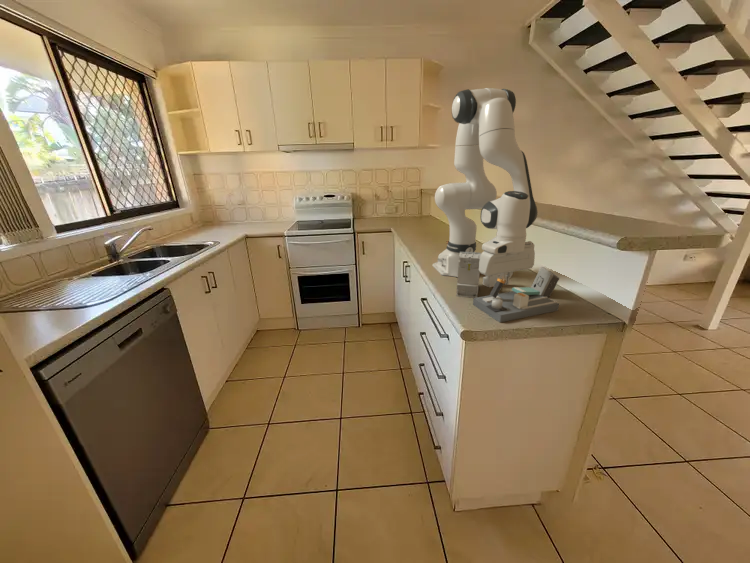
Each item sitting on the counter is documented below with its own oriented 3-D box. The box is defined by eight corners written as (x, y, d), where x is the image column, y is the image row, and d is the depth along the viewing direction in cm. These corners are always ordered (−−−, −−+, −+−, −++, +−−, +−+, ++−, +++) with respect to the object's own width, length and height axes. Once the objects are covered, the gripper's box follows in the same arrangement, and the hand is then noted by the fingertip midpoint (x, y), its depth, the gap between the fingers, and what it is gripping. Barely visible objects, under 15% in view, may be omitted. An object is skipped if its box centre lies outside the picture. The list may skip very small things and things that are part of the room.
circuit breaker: (476, 284, 126) (480, 248, 121) (477, 297, 113) (481, 258, 108) (457, 282, 128) (460, 247, 123) (456, 296, 115) (458, 257, 110)
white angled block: (509, 277, 125) (503, 261, 121) (490, 292, 124) (483, 276, 120) (503, 275, 128) (496, 259, 124) (484, 289, 127) (477, 273, 123)
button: (489, 306, 100) (490, 299, 99) (497, 304, 101) (498, 297, 100) (495, 310, 97) (496, 303, 96) (504, 308, 98) (505, 301, 97)
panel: (472, 304, 108) (473, 296, 107) (526, 295, 114) (527, 286, 113) (499, 322, 95) (500, 313, 94) (557, 310, 102) (559, 301, 101)
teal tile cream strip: (521, 295, 105) (522, 291, 105) (511, 290, 109) (512, 287, 109) (539, 294, 108) (540, 291, 107) (529, 289, 112) (530, 287, 111)
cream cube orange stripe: (512, 305, 101) (514, 293, 99) (520, 303, 102) (522, 291, 100) (519, 308, 98) (521, 296, 97) (527, 307, 99) (529, 295, 98)
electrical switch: (530, 288, 120) (536, 265, 117) (544, 289, 120) (550, 267, 117) (539, 298, 112) (546, 274, 108) (554, 299, 111) (561, 275, 108)
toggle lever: (489, 294, 105) (498, 278, 104) (492, 296, 106) (501, 279, 105) (492, 296, 104) (501, 279, 103) (496, 298, 104) (505, 281, 103)
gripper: (527, 238, 106) (521, 276, 111) (477, 245, 99) (474, 285, 104) (542, 242, 100) (535, 282, 105) (491, 249, 94) (486, 291, 99)
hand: (504, 283), depth 105 cm, fingers closed, pressing on toggle lever
